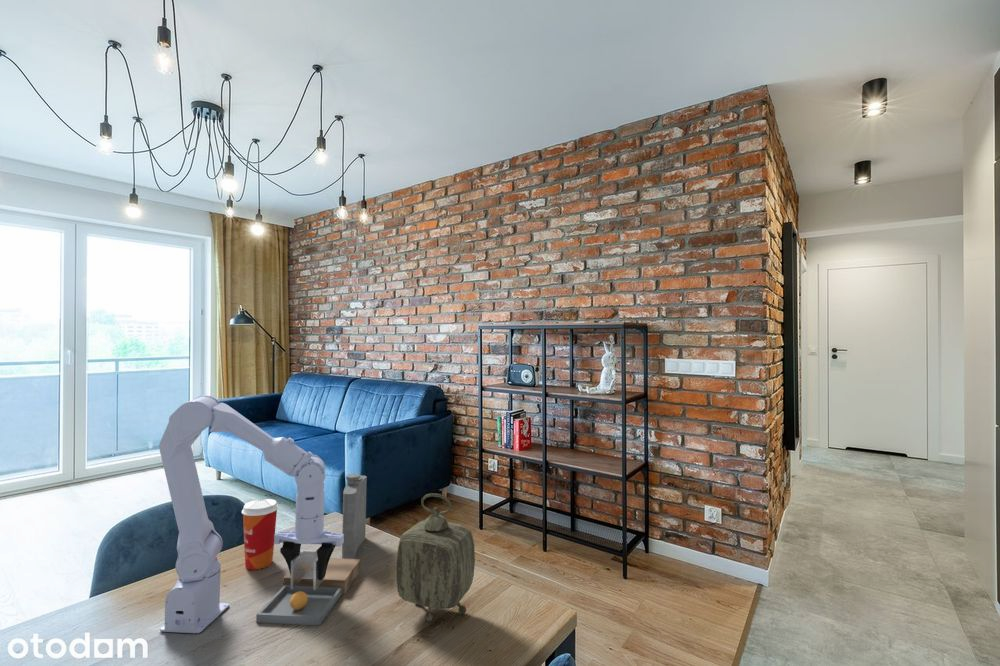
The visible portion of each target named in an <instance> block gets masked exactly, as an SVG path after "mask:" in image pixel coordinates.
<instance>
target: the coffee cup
mask: <svg viewBox="0 0 1000 666" xmlns="http://www.w3.org/2000/svg"><path fill="white" fill-rule="evenodd" d="M278 509H279V505H278V502H277V500H275V499H272V498H265V499H258V500H255V499H254V500H252V501H249V502H247V503H245V504H244V505H243V509H242V510H241V514H242V515H243V516H242V517H243V518H242V520H243V522H242V523H243V524H242V525H243V543H244V545H243V547H244V564H245V568H246V570H249V569H251V570H250V571H256V570H255V569H259V570H262V569H261V568H263V569H266V568H268V567H270V566H271V565H272V564H271V563H273V560H274V559H273V558H274V549H275V544H274V535H275V534H276V526H277V525H276V524H277V514H278V513H277V512H278ZM269 565H270V566H269ZM267 566H268V567H267ZM265 567H266V568H265Z"/></svg>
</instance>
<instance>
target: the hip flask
mask: <svg viewBox="0 0 1000 666" xmlns="http://www.w3.org/2000/svg"><path fill="white" fill-rule="evenodd" d="M367 477H368V476H366V475H361V474H359V473H350V474H347V475H346V476H345V480H346V485H345V487H344V489H343V492H342V494H343V495H342V496H343V497H342V501H343V502H342V531H341V532H342V533H341V534H344V543H343V544H342V545H341V547H342V548H341V559H356V555H357V552H358V550H359V548H360V546H361V545H362V543H363V542H364V541H365V540H366V530H367V529H366V528H367V527H366V525H367V522H366V520H367V481H368V480H367V479H368V478H367Z"/></svg>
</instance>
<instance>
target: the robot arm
mask: <svg viewBox="0 0 1000 666" xmlns="http://www.w3.org/2000/svg"><path fill="white" fill-rule="evenodd" d="M208 427H211V428H210V430H209V432H210V433H219V432H228V433H230V434H232V435H234V436H235V437H237V438H239V439H241V440H242V441H245V442H246V443H248V444H249V445H252V446H253V447H255V448H257V449H258V450H260V451H262V453H263V459H264V461H266V462H267V463H269V464H270V465H271V466H273V467H275V468H277V469H278V470H279V471H282V472H283V473H284V474H285V475H288V476H289V477H293V478H294V480H295V481H294V482H295V483H296V485H297V492H296V494H295V519H294V521H295V523H294V524H295V526H294V530H286V531H278V532H276V533H275V535H274V545H279V544H282V547H280V548H279V549H280V550H279V551H280V554H281V556H282V557H283V558H284V560H285V562H286V564H287V568H288V572H289V571H290V575H291V560H292V559H293V558H294V557H295V556H296V555H297V554H298V553H299V552H300V551H301V548H302V545H320V546H319V547H318V548H317V549H316V551H317V556H318V565H319V567H318V579H319V580H322V579H323V578H324V577H325V575H326V569H327V566H328V562H329V559H330V558H332V554H333V552H334V550H335V548H336V547H342V544H343V543H344V534H342V533H338V532H332V531H328V530H324V529H325V528H324V523H325V522H324V521H325V520H324V518H325V490H324V488H325V483H324V481H325V479H326V466H325V465H326V464H325V462H324V460H323V459H322V458H321V457H320V456H319V455H317V454H314V453H313V452H311V451H305V450H304V449H303V448H302V447H299V446H298V445H297V444H295V440H294V439H293V438H292V437H288V438H286V437H284V436H281V437H280V436H279V437H273V436H271V435H270V434H269V433H267V432H266V431H264V430H263V429H262V428H261V427H259V426H257V425H256V424H255V423H253V422H252V421H250V419H248V418H246V417H245V416H244V415H242V414H241V413H239V411H237V410H236V409H234V408H232V407H231V406H230V405H228V404H227V403H224V402H220V401H219V399H217V398H216V397H214V396H211V395H200V396H197V397H194V398H193V399H192V400H190V401H187V402H184V403H182V404H181V405H180V406H179V407H177V409H176V410H175V411H173V413H172V414H171V415H170V416H169V418H168V422H167V426H166V427H165V429H164V432H163V434H162V437H161V439H160V441H159V444H158V449H159V453H160V457H161V462H162V466H163V470H164V474H165V478H166V482H167V487H168V492H169V496H170V498H171V499H170V500H171V504H172V508H173V512H174V517H175V521H176V524H177V528H178V529H177V530H178V538H177V543H176V550H177V559H176V562H175V572H176V574H177V580H176V584H175V585H174V586H173V588H172V589H171V590H170V591H168V593H167V594H166V597H165V601H164V625H163V626H161V627H160V629H159V631H160V632H165V633H184V634H199V633H202V632H203V630H205V629H206V628H207V627H208V626H209V625H210V624H211V623H213V622H214V621H215V620H216V618H218V617H219V616H220V615H221V614H222V613H224V611H225V610H226V609H227V608H229V607H230V603H224V602H221V600H220V599H221V567H222V566H221V563H220V562H219V560H218V555H219V554H220V553H221V551H222V548H223V546H224V545H223V544H224V543H223V538H222V537H221V535H220V534H219V533H218V532H217V531H216V529H215V526H214V523H213V522H212V521H211V520H210V519H209V517H208V513H207V512H208V511H207V509H206V504H205V499H204V495H203V491H202V488H201V482H200V478H199V474H198V470H197V466H196V465H197V464H196V461H195V457H194V452H193V448H192V446H193V444H194V443H195V441H197V439H198V438H199V437H200V435H201V434H202V432H203V431H205V430H206V429H207V428H208Z"/></svg>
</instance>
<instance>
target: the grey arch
mask: <svg viewBox="0 0 1000 666" xmlns="http://www.w3.org/2000/svg"><path fill="white" fill-rule="evenodd" d="M318 567H319V565H318V556H317V550H313V549H312V550H311V549H310V550H309V549H300V552H299V553H298V554H297V555H296V556H295V557H294V558H293V559H292V560H291V588H290V589H293V588H294V587H295V586H296V585H297V584H298V583H299V582H300V581H301V579H302V578H309V579H313V590H316V589H317V588H318V587H319V585H320V584H321V583H322V581H323V580H324V579H325V577H324V578H323V579H322V580H319V579H318Z"/></svg>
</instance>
